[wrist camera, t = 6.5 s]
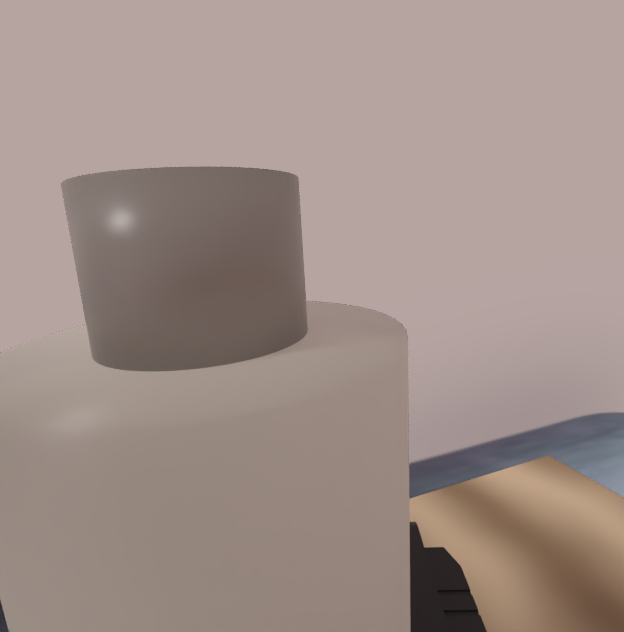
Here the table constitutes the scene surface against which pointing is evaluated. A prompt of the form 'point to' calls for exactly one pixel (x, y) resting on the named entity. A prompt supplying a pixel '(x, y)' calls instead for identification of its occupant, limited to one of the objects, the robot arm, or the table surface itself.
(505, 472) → the oak board
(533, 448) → the table surface
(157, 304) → the lotion bottle
